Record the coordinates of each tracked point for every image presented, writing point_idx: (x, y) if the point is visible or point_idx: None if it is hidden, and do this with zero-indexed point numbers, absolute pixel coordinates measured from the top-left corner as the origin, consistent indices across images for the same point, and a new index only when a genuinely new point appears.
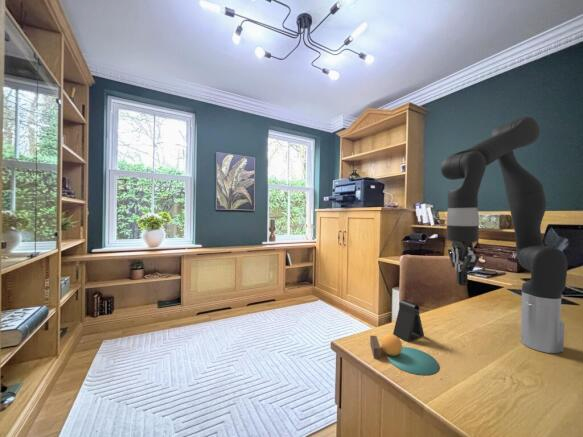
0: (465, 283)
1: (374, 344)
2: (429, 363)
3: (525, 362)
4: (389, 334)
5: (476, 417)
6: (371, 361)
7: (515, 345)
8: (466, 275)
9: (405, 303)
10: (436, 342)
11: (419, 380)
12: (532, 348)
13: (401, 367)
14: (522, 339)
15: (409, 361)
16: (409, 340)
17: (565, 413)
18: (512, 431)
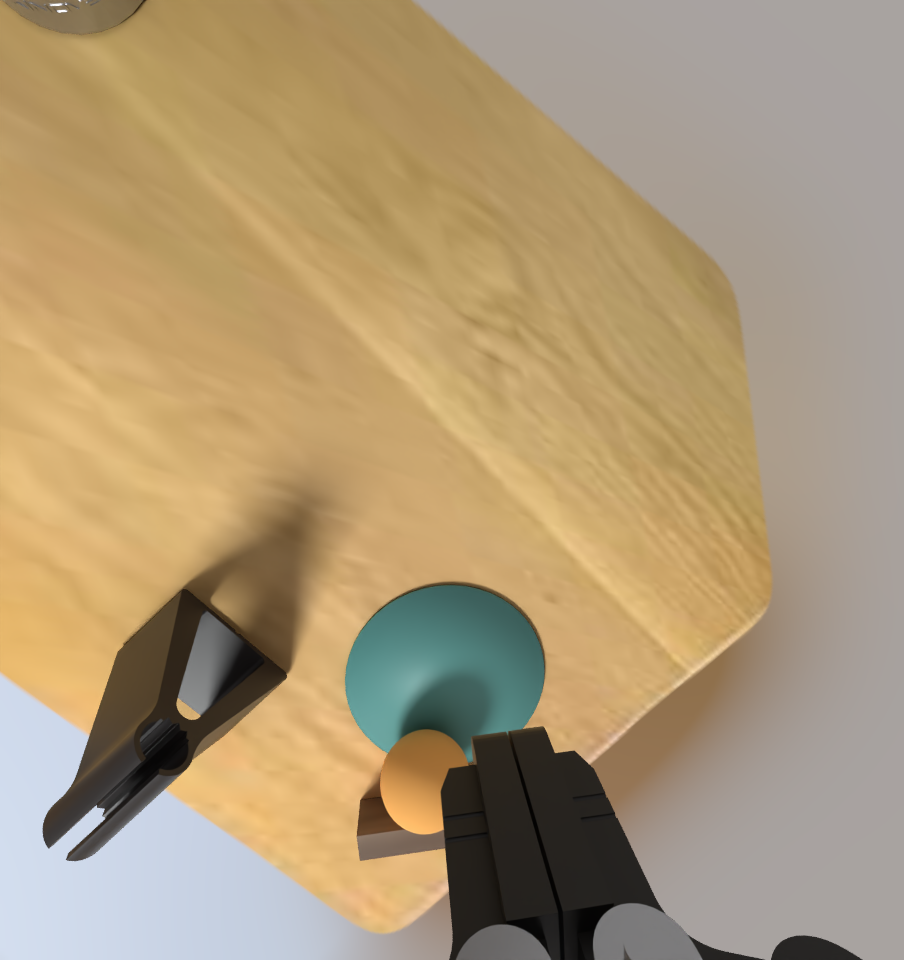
0: (580, 771)
1: (444, 842)
2: (460, 619)
3: (319, 170)
4: (419, 824)
5: (721, 549)
6: None
7: (113, 99)
8: (641, 880)
9: (118, 825)
10: (239, 542)
11: (576, 671)
12: (130, 14)
13: (517, 721)
14: (51, 16)
15: (466, 690)
16: (276, 669)
17: (660, 252)
18: (759, 473)
